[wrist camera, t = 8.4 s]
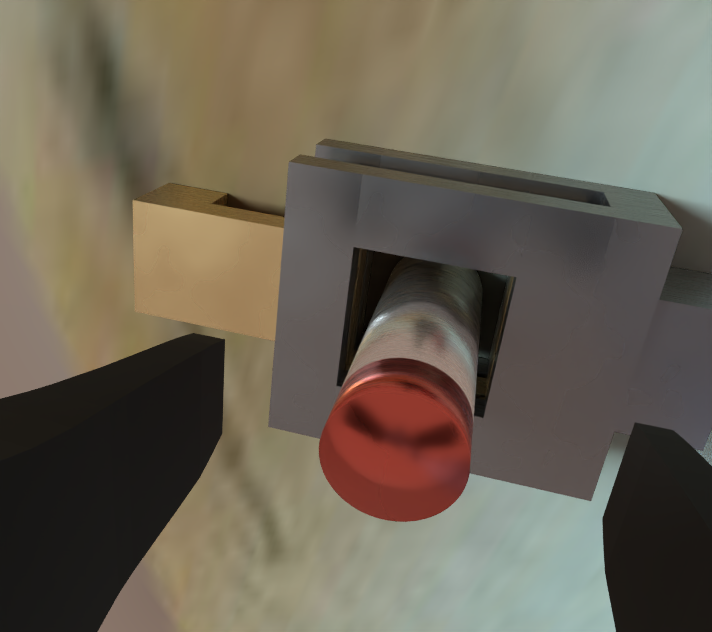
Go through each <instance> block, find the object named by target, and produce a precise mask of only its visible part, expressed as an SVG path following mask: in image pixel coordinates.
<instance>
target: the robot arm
mask: <svg viewBox="0 0 712 632" xmlns="http://www.w3.org/2000/svg"><path fill="white" fill-rule="evenodd" d="M224 354H225V339H220V338H215V337H210V336H205V335H200V334H195V333H193V334H189V335H185V336H182V337H179V338H176V339H173V340H170V341H168V342H165V343H162V344H160V345H157V346H155V347H152V348H150V349H147V350H144V351H142V352H139V353H137V354H134V355H132V356H129V357H127V358H124V359H121V360H119V361H116V362H114V363H111V364H109V365H106V366H103V367H101V368H98V369H95V370H92V371H89V372H86V373H83V374H80V375H77V376H75V377H72V378H69V379H66V380H63V381H60V382H57V383H54V384H52V385H48V386H45V387H42V388H38V389H35V390H31V391H28V392H24V393H21V394H17V395H13V396H9V397H5V398H2V399H0V632H97V631H98V630H99V628H100V626H101V624H102V622H103V621H104V619H105V617H106V615H107V614H108V612H109V610H110V608H111V607H112V605H113V603H114V601H115V599H116V598H117V596H118V594H119V593H120V591H121V589H122V588H123V586H124V585H125V583H126V582H127V580H128V579H129V577H130V576H131V574H132V573H133V571H134V570H135V568H136V567H137V565H138V564H139V563H140V561H141V560H142V558H143V557H144V556H145V554H146V553H147V551H148V550H149V549H150V547H151V546H152V544H153V543H154V542H155V540H156V539H157V537H158V536H159V535H160V533H161V532H162V530H163V529H164V528H165V526H166V525H167V523H168V522H169V521H170V519H171V518H172V516H173V515H174V514H175V512H176V511H177V509H178V508H179V507H180V505H181V504H182V502H183V501H184V499H185V498H186V497H187V495H188V494H189V492H190V491H191V489H192V488H193V486H194V485H195V484H196V482H197V481H198V479H199V478H200V476H201V474H202V472H203V470H204V468H205V467H206V465H207V463H208V461H209V459H210V457H211V455H212V453H213V451H214V449H215V447H216V445H217V443H218V441H219V439H220V437H221V435H222V421H223V387H224ZM603 545H604V562H605V574H606V580H607V586H608V591H609V596H610V602H611V607H612V612H613V618H614V623H615V628H616V632H712V466H711V465H710V464H709V463H708V462H707V461H706V460H705V459H704V458H703V457H702V456H701V455H700V454H699V453H698V452H697V451H696V450H695V449H694V448H693V447H692V446H691V445H690V444H689V443H688V442H686V441H685V440H684V439H683V438H682V437H681V436H680V435H679V434H677V433H676V432H675V431H674V430H671V429H666V428H661V427H656V426H651V425H646V424H641V423H636V422H635V423H634V426H633V429H632V432H631V435H630V438H629V441H628V444H627V447H626V450H625V453H624V456H623V459H622V462H621V465H620V468H619V471H618V474H617V477H616V480H615V483H614V486H613V489H612V492H611V495H610V498H609V501H608V504H607V507H606V510H605V513H604V516H603Z"/></svg>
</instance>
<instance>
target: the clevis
mask: <svg viewBox="0 0 712 632" xmlns="http://www.w3.org/2000/svg"><path fill="white" fill-rule="evenodd" d="M682 230H683V229H682V227H681V226H680V225H679V224H678V222H677V221H676V220H675V218H674V217H673V216H672V215H671V213H670V212H669V211H668V209H667V208H666V207H665V206H664V204H663V203H662V202H661V200H660V199H659V198H658V197H657V195H656V194H655V193H652V192H646V191H640V190H633V189H627V188H621V187H615V186H609V185H603V184H597V183H591V182H585V181H579V180H573V179H567V178H561V177H555V176H548V175H542V174H536V173H530V172H524V171H518V170H512V169H506V168H500V167H494V166H488V165H482V164H476V163H469V162H463V161H457V160H451V159H445V158H439V157H433V156H427V155H421V154H415V153H409V152H403V151H397V150H390V149H384V148H378V147H372V146H366V145H360V144H354V143H348V142H342V141H336V140H330V139H324V140H322V141H321V142H319V143H318V144H316V154H315V157H312V156H306V155H299V156H297V157H296V158H294V159H293V160H291V161H289V168H288V180H287V193H286V206H285V217H281V216H276V215H270V214H265V213H259V212H254V211H248V210H243V209H237V208H232V207H227V193H221V192H216V191H210V190H205V189H199V188H194V187H188V186H183V185H177V184H171V183H168V184H166V185H164V186H162V187H159V188H157V189H155V190H153V191H151V192H149V193H147V194H145V195H143V196H141V197H138V198H136V199H134V200H133V239H134V289H135V312H140V313H145V314H150V315H154V316H159V317H164V318H169V319H173V320H178V321H183V322H187V323H192V324H197V325H202V326H206V327H211V328H216V329H221V330H225V331H230V332H235V333H240V334H244V335H249V336H254V337H258V338H263V339H268V340H273V341H275V348H274V360H273V373H272V386H271V399H270V412H269V425H268V427H272V428H276V429H280V430H285V431H289V432H293V433H298V434H302V435H306V436H311V437H315V438H319V439H320V438H321V434H322V431H323V429H324V427H325V424H326V422H327V420H328V417H329V415H330V413H331V411H332V408H333V406H334V404H335V401H336V399H337V397H338V394H339V392H340V390H341V388H342V385H343V383H344V381H345V378H346V376H347V374H348V371H349V369H350V367H351V365H352V362H353V360H354V358H355V355H356V353H357V351H358V348H359V346H360V344H361V342H362V339H363V337H364V335H365V334H363V333H362V330H363V323H364V316H365V308H366V301H367V294H368V287H369V280H370V272H371V265H372V258H373V251H378V252H384V253H389V254H394V255H400V256H405V257H410V258H416V259H421V260H426V261H432V262H437V263H442V264H448V265H453V266H458V267H464V268H469V269H474V270H480V271H485V272H490V273H496V274H501V275H506V276H508V277H507V281H506V285H505V290H504V294H503V298H502V303H501V307H500V311H499V316H498V320H497V324H496V329H495V333H494V337H493V342H492V346H491V350H490V355H489V359H485V358H480V357H478V366H477V379H476V393H475V406H474V420H473V433H472V447H471V461H470V473H471V474H476V475H480V476H484V477H489V478H493V479H497V480H502V481H506V482H510V483H515V484H519V485H523V486H528V487H532V488H536V489H541V490H545V491H549V492H554V493H558V494H562V495H567V496H571V497H575V498H580V499H584V500H588V501H591V500H592V497H593V494H594V491H595V488H596V485H597V482H598V479H599V476H600V473H601V470H602V467H603V464H604V461H605V458H606V455H607V452H608V449H609V446H610V443H611V440H612V437H613V435H614V432H618V433H623V434H627V435H631V432H632V429H633V426H634V423H635V422H636V423H641V424H646V425H651V426H656V427H661V428H666V429H671V430H674V431H675V432H676V433H677V434H679V435H680V436H681V437H682V438H683V439H684V440H685V441H686V442H688V443H689V444H690V445H691V446H692V447H693V448H694V449H697V450H702V451H703V449H704V446H705V444H706V442H707V439H708V437H709V434H710V432H711V429H712V274H708V273H703V272H697V271H691V270H686V269H680V268H675V267H670V266H671V263H672V260H673V257H674V254H675V251H676V248H677V245H678V242H679V239H680V236H681V233H682Z"/></svg>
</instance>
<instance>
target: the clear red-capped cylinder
mask: <svg viewBox="0 0 712 632" xmlns="http://www.w3.org/2000/svg"><path fill="white" fill-rule="evenodd" d="M482 298H483V289H482V283H481V280H480V277H479V275H478V273H477V271H476V270H474V269H469V268H464V267H458V266H453V265H448V264H442V263H437V262H432V261H426V260H421V259H416V258H410V257H404V258H403V259H402V260H400V261H399V262H398V264H397V265H396V266H395V268H394V269H393V271H392V273H391V275H390V277H389V279H388V282H387V284H386V286H385V289H384V291H383V293H382V296H381V298H380V300H379V302H378V305H377V307H376V309H375V312H374V314H373V316H372V319H371V321H370V323H369V325H368V328H367V330H366V332H365V335H364V337H363V339H362V342H361V344H360V346H359V348H358V351H357V353H356V355H355V358H354V360H353V362H352V365H351V367H350V369H349V371H348V374H347V376H346V378H345V381H344V383H343V385H342V388H341V390H340V392H339V394H338V397H337V399H336V401H335V404H334V406H333V408H332V411H331V413H330V415H329V417H328V420H327V422H326V424H325V427H324V429H323V431H322V434H321V438H320V443H319V458H320V463H321V467H322V470H323V473H324V475H325V477H326V479H327V480H328V482H329V484H330V485H331V487H332V488H333V489H334V490H335V491H336V493H337V494H338V495H339V496H340V497H341V498H342V499H344V500H345V501H346V502H347V503H349V504H350V505H351V506H353V507H354V508H356V509H358V510H359V511H361V512H364V513H366V514H368V515H371V516H373V517H376V518H380V519H384V520H390V521H403V522H407V521H417V520H422V519H426V518H429V517H432V516H434V515H436V514H439V513H441V512H442V511H444V510H445V509H447V508H448V507H450V506H451V505H452V504H453V503H454V502H455V501H456V500H457V499H458V498H459V496H460V495H461V493H462V492H463V490H464V489H465V486H466V484H467V481H468V478H469V473H470V461H471V447H472V433H473V420H474V406H475V393H476V379H477V366H478V352H479V338H480V325H481V311H482Z"/></svg>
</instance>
